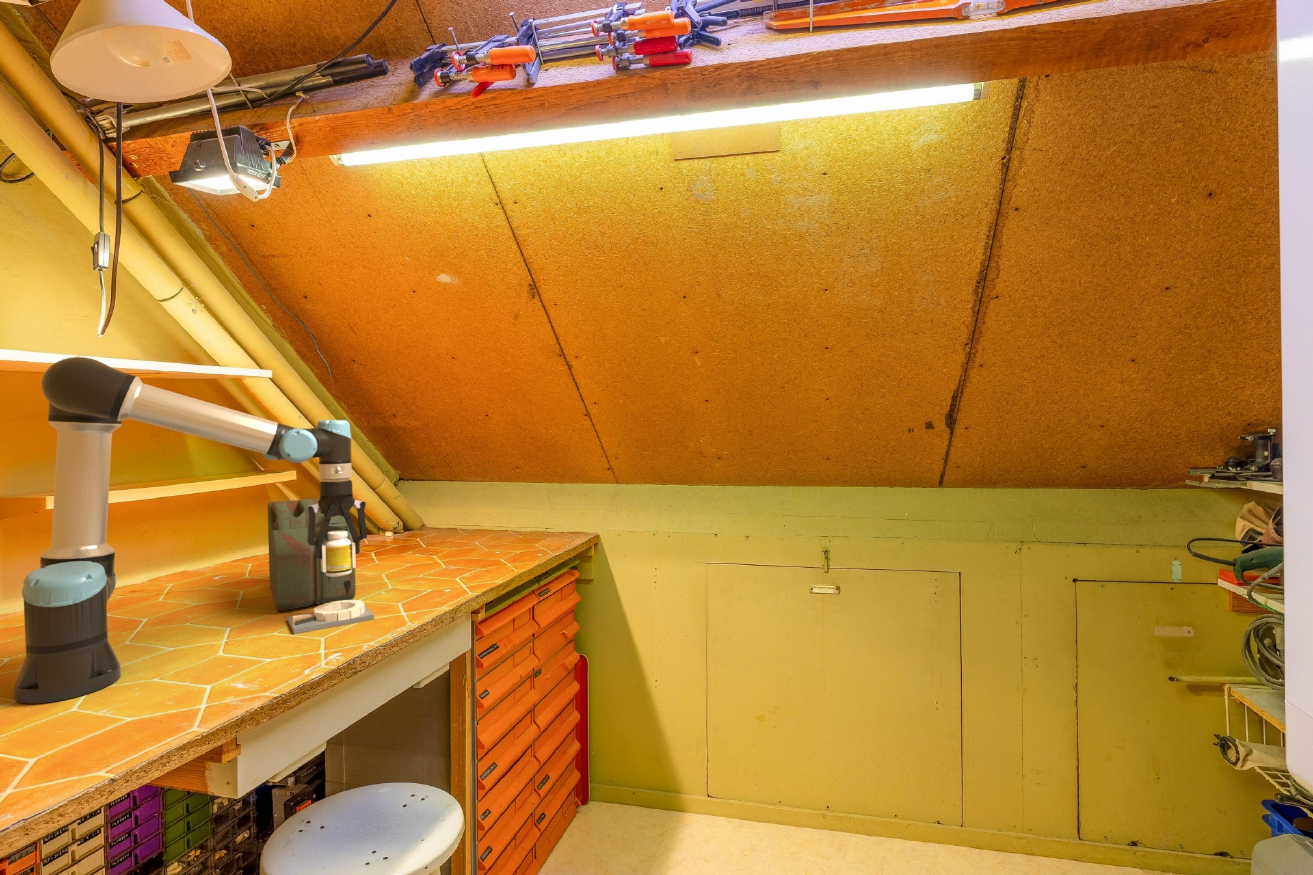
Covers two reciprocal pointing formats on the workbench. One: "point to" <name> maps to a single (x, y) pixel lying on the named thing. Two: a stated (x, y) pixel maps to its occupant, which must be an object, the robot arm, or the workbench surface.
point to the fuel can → (302, 558)
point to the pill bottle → (338, 554)
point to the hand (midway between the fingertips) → (338, 568)
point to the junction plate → (327, 624)
